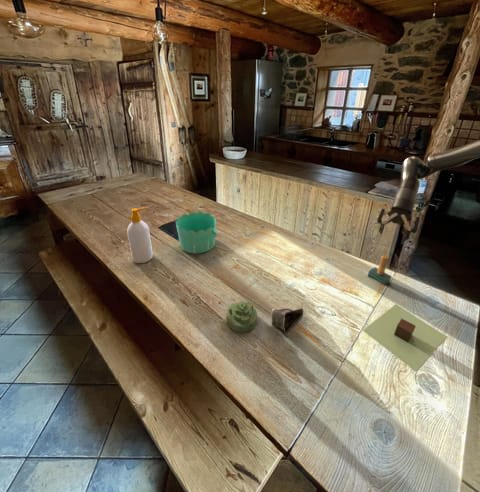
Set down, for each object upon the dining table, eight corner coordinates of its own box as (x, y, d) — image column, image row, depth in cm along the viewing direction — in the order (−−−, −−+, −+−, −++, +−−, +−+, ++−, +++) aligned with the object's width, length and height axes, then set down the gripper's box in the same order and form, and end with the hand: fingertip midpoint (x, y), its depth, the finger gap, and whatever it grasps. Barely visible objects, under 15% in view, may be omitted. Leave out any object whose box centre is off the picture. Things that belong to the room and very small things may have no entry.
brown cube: (398, 327, 85) (401, 318, 83) (412, 335, 82) (415, 325, 80) (393, 334, 82) (397, 325, 81) (407, 342, 80) (411, 333, 78)
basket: (171, 242, 129) (168, 218, 123) (202, 229, 140) (200, 207, 135) (192, 260, 116) (191, 234, 111) (225, 245, 127) (224, 221, 122)
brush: (373, 273, 110) (379, 250, 105) (389, 282, 105) (397, 259, 100) (367, 276, 108) (373, 253, 103) (384, 286, 103) (391, 263, 98)
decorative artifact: (234, 304, 94) (221, 325, 85) (234, 288, 91) (220, 309, 82) (261, 313, 90) (249, 336, 82) (262, 297, 87) (250, 320, 79)
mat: (395, 305, 94) (395, 303, 94) (446, 338, 82) (447, 336, 82) (361, 331, 84) (362, 330, 84) (415, 373, 72) (415, 371, 72)
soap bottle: (155, 260, 116) (148, 211, 105) (132, 265, 112) (122, 215, 102) (153, 250, 123) (146, 203, 113) (132, 254, 120) (122, 206, 109)
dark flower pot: (287, 304, 95) (269, 295, 87) (305, 309, 90) (288, 301, 82) (279, 331, 91) (260, 325, 83) (298, 339, 87) (279, 333, 79)
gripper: (422, 209, 109) (411, 245, 106) (384, 200, 117) (373, 234, 113) (426, 201, 103) (414, 239, 99) (385, 193, 110) (373, 228, 107)
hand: (392, 236), depth 106 cm, fingers open, 8 cm apart
